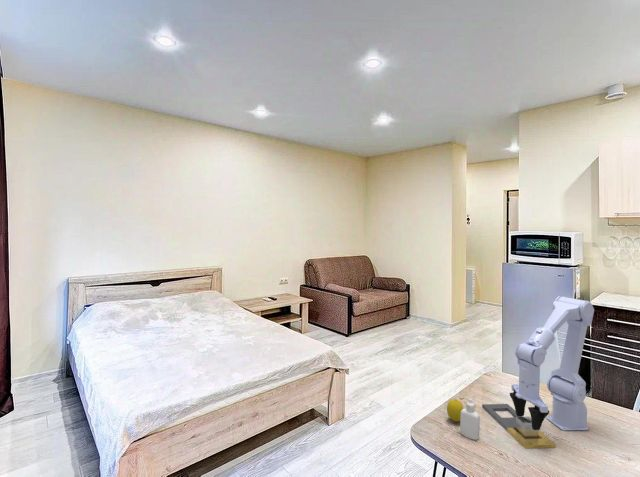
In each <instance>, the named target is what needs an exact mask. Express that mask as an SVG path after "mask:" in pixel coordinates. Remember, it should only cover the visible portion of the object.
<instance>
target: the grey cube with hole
mask: <svg viewBox="0 0 640 477" xmlns="http://www.w3.org/2000/svg"><path fill="white" fill-rule="evenodd" d="M516 431H517V432H518V433H519V434H520V435H521V436H522V437H523V438H524V439H538V435H539V431H540V430H533V429H532V422H531V416H522V417H516Z"/></svg>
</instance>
